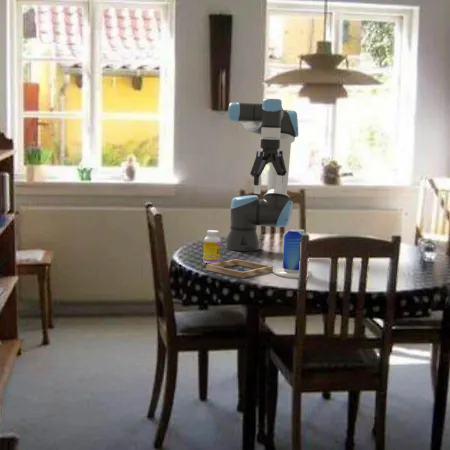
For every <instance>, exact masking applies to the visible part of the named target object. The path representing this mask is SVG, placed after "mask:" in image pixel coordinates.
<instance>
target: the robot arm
mask: <svg viewBox="0 0 450 450" xmlns="http://www.w3.org/2000/svg"><path fill="white" fill-rule="evenodd" d="M282 104H283V103H282V100H281V99H280V98H264V99H263V100H262V103H259V102H258V103H253V102H252V103H250V102H230V103H229V105H228V112H227V113H228V114H227V115H228V117H227V118H228V120H229V121H230V122H236V123H237V122H240V123H241V125H242V127H243V128H244V129H245V130H247V131H249V132H251V133H254V134H256V135H260V137H261V139H260V145H259V146H260V148H261V150H257V151H256V155H255V159H254V162H253V165H252V167H251V170H250V176H251V177H253V195H251V194H250V195H240V196H236V197H233V198H232V199H231V203H230V223H229V224H230V225H229V233H228V235H227V239H226V241H225V249H227V250H231V251H238V252H255V251H259V250H260V246H261V244H260V240H259V237H258V232H257V228H258V227H274V228H286V227H288V226H289V224H290V222H291V218H292V213H293V208H294V206H293V205H294V202H293V200H291V197H290V195H289V194H288V187H289V186H288V183H289V173H290V161H291V147H292V144H293V143H294V142H295V140H296V138H298V137H299V124H298V122H299V121H298V113H297V112H296V111H295V110H291V109H290V110H289V109H283V106H282ZM268 164H269V171H268V182H267V191H266V193H264V195H263V198H262V199H261V198H260V199H259V196H258V195H261V194H262V193H261V191H262V177H261V175H262V174H263V171H264V169H265V168H266V166H267V165H268ZM255 194H258V195H255ZM257 226H258V227H257Z"/></svg>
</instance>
